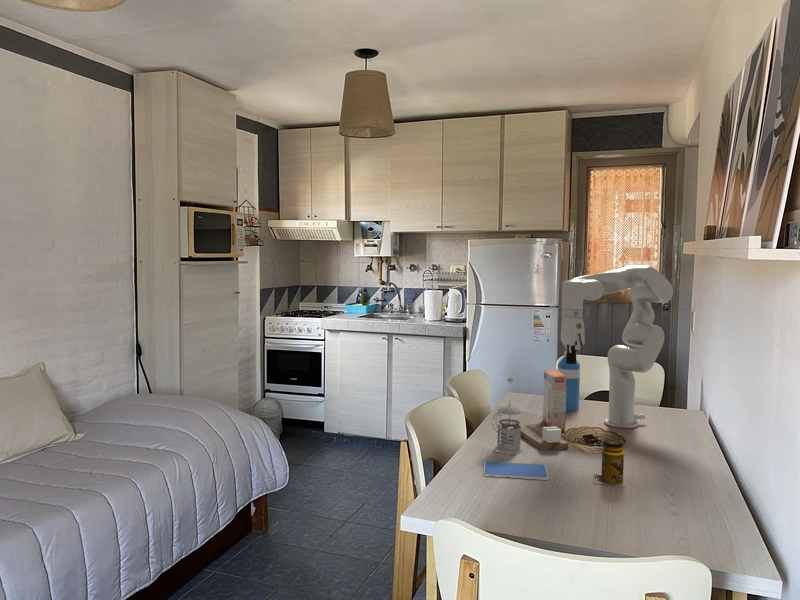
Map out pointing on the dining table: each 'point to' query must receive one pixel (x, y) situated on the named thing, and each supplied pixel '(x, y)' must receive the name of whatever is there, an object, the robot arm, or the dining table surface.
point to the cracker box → (554, 399)
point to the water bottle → (571, 382)
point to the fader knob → (551, 434)
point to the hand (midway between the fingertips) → (571, 363)
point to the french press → (509, 430)
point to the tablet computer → (516, 470)
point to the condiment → (612, 464)
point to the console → (540, 438)
